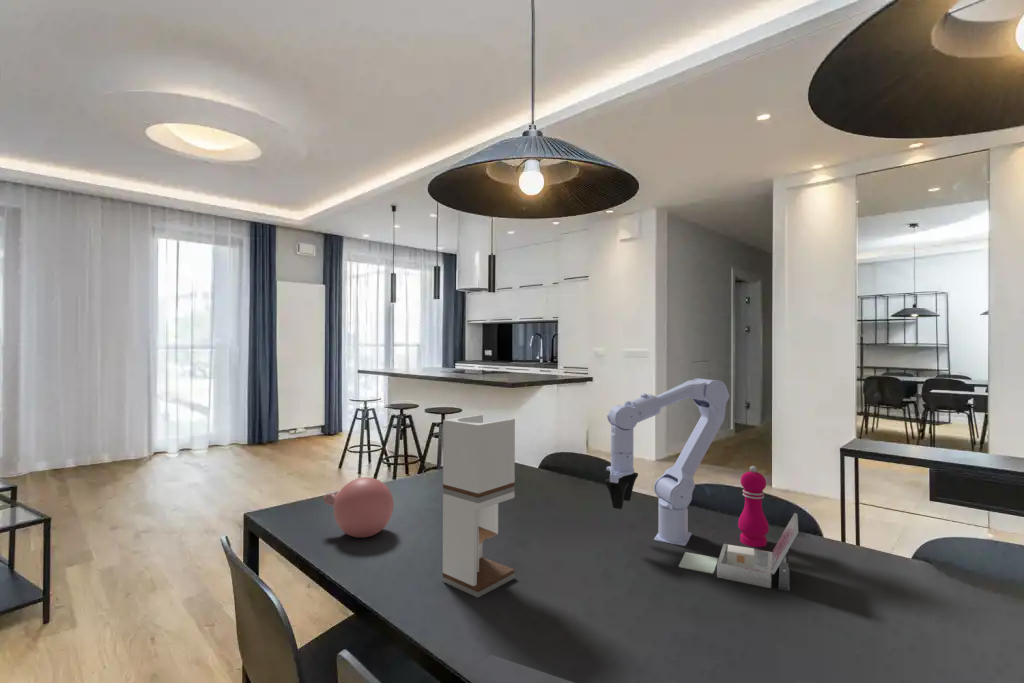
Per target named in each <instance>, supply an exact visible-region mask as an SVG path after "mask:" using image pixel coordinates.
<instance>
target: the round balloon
mask: <svg viewBox="0 0 1024 683" xmlns="http://www.w3.org/2000/svg"><path fill="white" fill-rule="evenodd" d="M322 498H323V503H325V504H326V505H328V506H329V507H333V516H334V520H335V522H336V524H337V526H338V527H339V529H340V530H341V531H342V532H344V533H345V534H346V535H348V536H350V537H354V538H357V539H358V538H361V539H363V538H368V537H372V536H375V535H376V534H378V533H380V532H381V531H382V530H383V529H384V528H385V527H386V526H387V525H388V524H389V522H390V521H391V518H392V516H393V512H394V507H395V506H394V505H395V504H394V496H393V494H392V492H391V491H390V489H389V487H388V486H387V485H386V484H385V483H384V482H382V481H381V480H379V479H377V478H374V477H366V476H365V477H359V478H355V479H353V480H351V481H349V482H347V483H346V484H345V485H344V486H343V487H342V488H341V489H340V490H337V491H335V492H334V493H327V494H324V495H323V497H322Z"/></svg>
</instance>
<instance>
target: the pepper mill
mask: <svg viewBox="0 0 1024 683" xmlns="http://www.w3.org/2000/svg"><path fill="white" fill-rule="evenodd" d="M740 484H741V486H742V488H743V489H742V496H744V507H743V509H742V512H741V513H740V515H739V518H738V522H737V527H738V529H739V530H740V532H741V533H740V534H739V541H740V543H741V544H743V545H745V546H748V547H752V548H763V547H764V548H765V547H766V546H767V544H768V543H767V541H768V538H767V537H766V535H767V534H768V533H769V532H770V531H769V530H770V528H769V527H770V526H769V522H768V520H767V517H766V516H765V513H764V510H763V499H765V495H764V494H765V492H764V490H765V488H766V487H767V481H766V478H765V477H764V475H763V474H762V473H761V472H758V468H757V467H756V466H755V465H751V466H750V467H749V471H746V472H744V473H743V474H742V475H741V477H740Z"/></svg>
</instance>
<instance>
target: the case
mask: <svg viewBox="0 0 1024 683" xmlns="http://www.w3.org/2000/svg"><path fill="white" fill-rule="evenodd" d="M728 545H730V544H728V543H723V545H722V547H721V550H720V552H719V553H720V554H719V557H718V561H717V564H716V578H719V579H722V580H728V581H733V582H737V583H743V584H747V585H753V586H757V587H762V588H766V589H767V588H768V589H772V581H773V580H772V579H773V574H772V573H771V566H772V553H773V551H767V550H762V549H756V548H753V549H754V569H749V568H744V567H738V566H733V565H728V564H727V549H728ZM778 568H779V569H778V590H782V591H788V592H790V567H789V550H788V551H787V553H786V555H785V556H784V558H783V560H782V562H781V563H780V565H779V567H778Z"/></svg>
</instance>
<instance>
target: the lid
mask: <svg viewBox="0 0 1024 683" xmlns="http://www.w3.org/2000/svg"><path fill="white" fill-rule="evenodd" d="M798 533H799V519H798V513H796V512H794V513H793V515H792V517H791V519H790V520H789V521H788V523H787V525H786V526H785V528H784V530H783V532H782V534H781V535H780V538H779V539H778V541H777V543H776V545H775V546H774V547H773V550H772V552H773V553H772V566H771V573H772V575H775V573H776V572H777V570H778V568H779V566H780V563H781V562H782V560H783V558H784V556H785V555H786V553H787V551H788V552H789V549H790V547H791V546H792V545H793V542H794V541H795V539H796V537H797V536H798Z"/></svg>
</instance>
